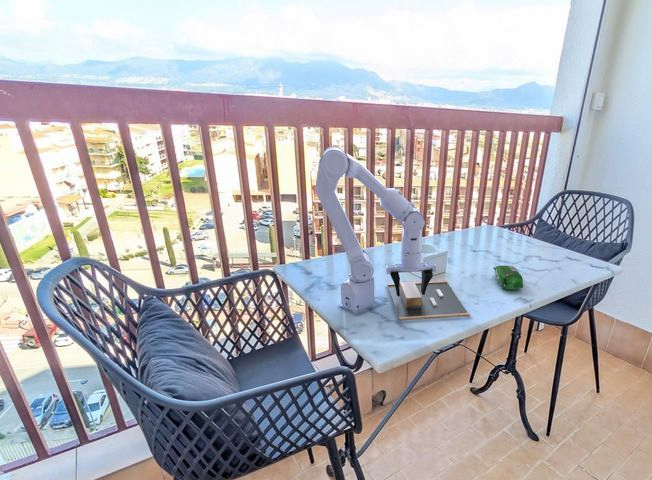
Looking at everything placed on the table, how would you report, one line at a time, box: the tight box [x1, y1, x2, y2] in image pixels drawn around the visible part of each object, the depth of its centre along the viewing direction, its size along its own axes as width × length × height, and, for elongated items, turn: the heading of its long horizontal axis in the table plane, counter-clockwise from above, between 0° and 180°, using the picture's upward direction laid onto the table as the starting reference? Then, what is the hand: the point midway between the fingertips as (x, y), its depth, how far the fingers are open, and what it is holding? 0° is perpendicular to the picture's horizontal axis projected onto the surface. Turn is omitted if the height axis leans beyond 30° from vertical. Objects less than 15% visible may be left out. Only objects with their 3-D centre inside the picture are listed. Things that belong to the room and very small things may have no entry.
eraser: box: [400, 281, 422, 309], centre depth 120 cm, size 4×12×4 cm, turn 10°
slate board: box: [387, 280, 471, 321], centre depth 122 cm, size 20×25×1 cm
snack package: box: [493, 265, 524, 290], centre depth 134 cm, size 7×16×5 cm, turn 2°
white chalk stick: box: [436, 289, 443, 297], centre depth 125 cm, size 1×5×1 cm, turn 10°
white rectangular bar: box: [430, 298, 437, 307], centre depth 119 cm, size 1×5×1 cm, turn 10°
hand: (410, 294), depth 120 cm, fingers open, 7 cm apart
